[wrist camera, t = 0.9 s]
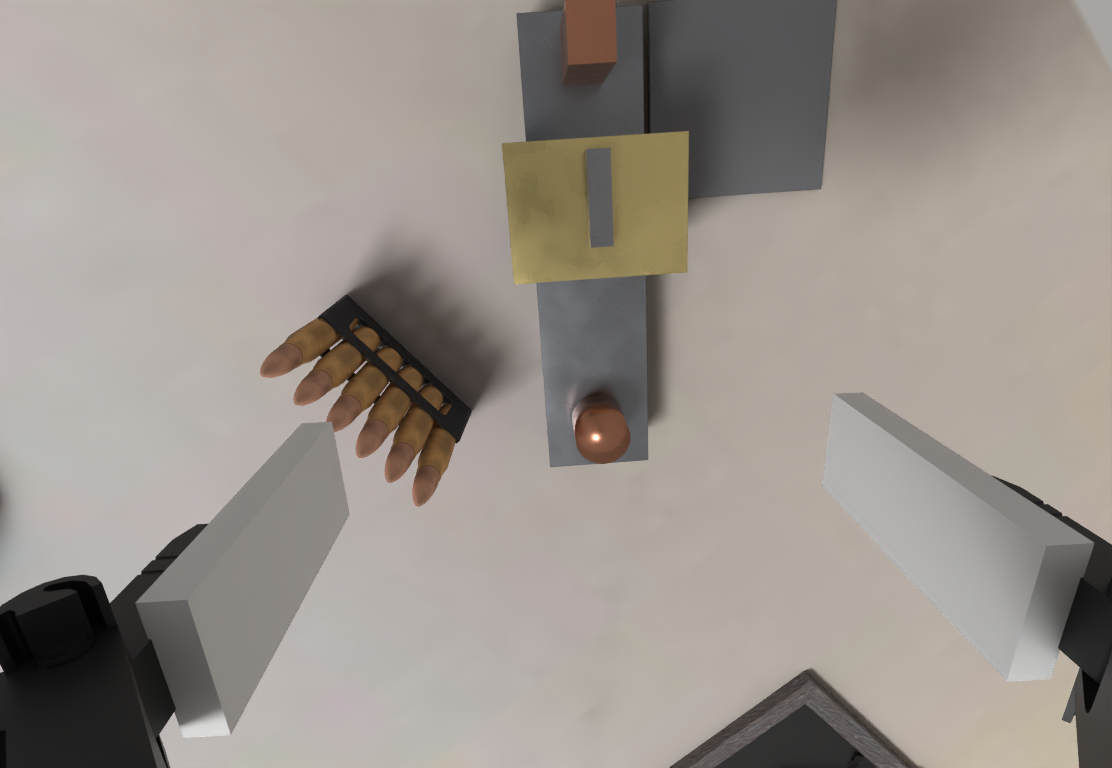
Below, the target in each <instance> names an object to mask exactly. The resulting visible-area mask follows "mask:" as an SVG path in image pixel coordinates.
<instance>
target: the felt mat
mask: <svg viewBox="0 0 1112 768" xmlns="http://www.w3.org/2000/svg"><path fill="white" fill-rule="evenodd" d="M835 12H836V0H671V1H655V2H649V3H648V5H647V29H648V125H649V134H651V133H667V132H682V131H689V156H688V198H698V197H713V196H727V195H742V194H757V193H772V192H787V191H801V190H816V189H821V184H822V172H823V160H824V147H825V135H826V123H827V111H828V98H829V86H830V74H831V61H832V49H833V37H834V25H835Z"/></svg>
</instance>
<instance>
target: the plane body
mask: <svg viewBox="0 0 1112 768" xmlns="http://www.w3.org/2000/svg"><path fill="white" fill-rule="evenodd" d="M517 25H518V39H519V52H520V66H521V79H522V93H523V106H524V120H525V133H526V142H530V141H545V140H560V139H575V138H591V137H606V136H621V135H636V134H644V91H643V13H642V6H626V7H616V2H615V0H565V1H564V7H563V10H562V11H546V12H530V13H517ZM537 295H538V309H539V322H540V336H541V349H542V363H543V376H544V390H545V403H546V417H547V430H548V443H549V457H550V467H560V466H573V465H587V464H606V463H613V462H627V461H640V460H648V406H647V327H646V275H641V276H626V277H612V278H598V279H583V280H569V281H555V282H540V283H537Z"/></svg>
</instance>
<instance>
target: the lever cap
mask: <svg viewBox="0 0 1112 768" xmlns="http://www.w3.org/2000/svg"><path fill="white" fill-rule="evenodd" d="M502 149H503V160H504V172H505V184H506V195H507V207H508V218H509V230H510V241H511V253H512V264H513V276H514V284H526V283H540V282H555V281H569V280H583V279H598V278H612V277H626V276H641V275H655V274H670V273H684V272H687V252H688V156H689V131H682V132H667V133H651V134H636V135H621V136H606V137H591V138H575V139H560V140H545V141H530V142H515V143H502Z"/></svg>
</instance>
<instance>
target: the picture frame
mask: <svg viewBox="0 0 1112 768" xmlns="http://www.w3.org/2000/svg"><path fill="white" fill-rule="evenodd" d="M670 768H911V767H910V766H909V765H908V764H907V763H906V762H904V761H903V760H902V759H901V758H900V757H899V756H898V755H897V754H896V753H895V752H894V751H892V750H891V749H890V748H889V747H888V746H887V745H886V744H885V743H884V742H883V741H881V740H880V739H879V738H878V737H877V736H876V735H875V734H874V733H873V732H872V731H871V730H869V729H868V728H867V727H866V726H865V725H864V724H863V723H862V722H861V721H860V720H858V719H857V718H856V717H855V716H854V715H853V714H852V713H851V712H850V711H849V710H848V709H846V708H845V707H844V706H843V705H842V704H841V703H840V702H839V701H838V700H837V699H835V698H834V697H833V696H832V695H831V694H830V693H829V692H828V691H827V690H826V689H825V688H823V687H822V686H821V685H820V684H819V683H818V682H817V681H816V680H815V679H814V678H813V677H811V676H810V675H809V674H808V673H807V672H806V671H803V672H802V673H801V674H799V675H798V676H796V677H795V678H794V679H792V680H791V681H789V682H788V683H787V684H785V685H784V686H782V687H781V688H780V689H778V690H777V691H775V692H774V693H773V694H771V695H770V696H768V697H767V698H766V699H764V700H763V701H762V702H760V703H759V704H757V705H756V706H755V707H753V708H752V709H750V710H749V711H748V712H746V713H745V714H743V715H742V716H741V717H739V718H738V719H736V720H735V721H734V722H732V723H731V724H729V725H728V726H727V727H725V728H724V729H722V730H721V731H720V732H718V733H717V734H716V735H714V736H713V737H711V738H710V739H709V740H707V741H706V742H704V743H703V744H702V745H700V746H699V747H697V748H696V749H695V750H693V751H692V752H690V753H689V754H688V755H686V756H685V757H683V758H682V759H681V760H679V761H678V762H676V763H675V764H674V765H672V766H671V767H670Z"/></svg>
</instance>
